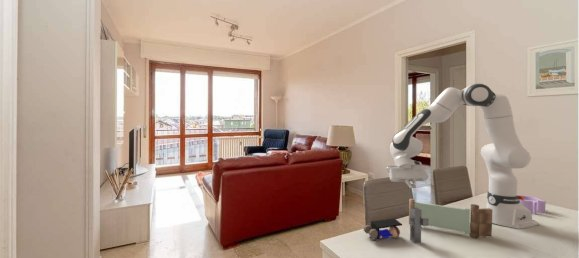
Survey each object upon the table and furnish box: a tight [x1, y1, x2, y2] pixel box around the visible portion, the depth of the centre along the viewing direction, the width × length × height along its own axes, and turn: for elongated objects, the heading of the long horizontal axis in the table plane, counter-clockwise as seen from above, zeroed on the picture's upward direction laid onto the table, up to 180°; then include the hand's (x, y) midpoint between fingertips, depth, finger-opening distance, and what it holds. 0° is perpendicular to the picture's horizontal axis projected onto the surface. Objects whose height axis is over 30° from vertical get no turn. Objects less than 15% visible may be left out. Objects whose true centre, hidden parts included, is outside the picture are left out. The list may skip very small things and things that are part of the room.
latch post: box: [409, 207, 429, 244], centre depth 110 cm, size 6×4×14 cm
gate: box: [408, 198, 471, 235], centre depth 122 cm, size 24×2×12 cm, turn 59°
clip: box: [517, 193, 547, 216], centre depth 151 cm, size 20×12×7 cm, turn 15°
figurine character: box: [363, 217, 403, 242], centre depth 114 cm, size 7×8×15 cm
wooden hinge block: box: [469, 203, 493, 239], centre depth 115 cm, size 10×3×14 cm, turn 98°
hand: (413, 187), depth 137 cm, fingers closed
